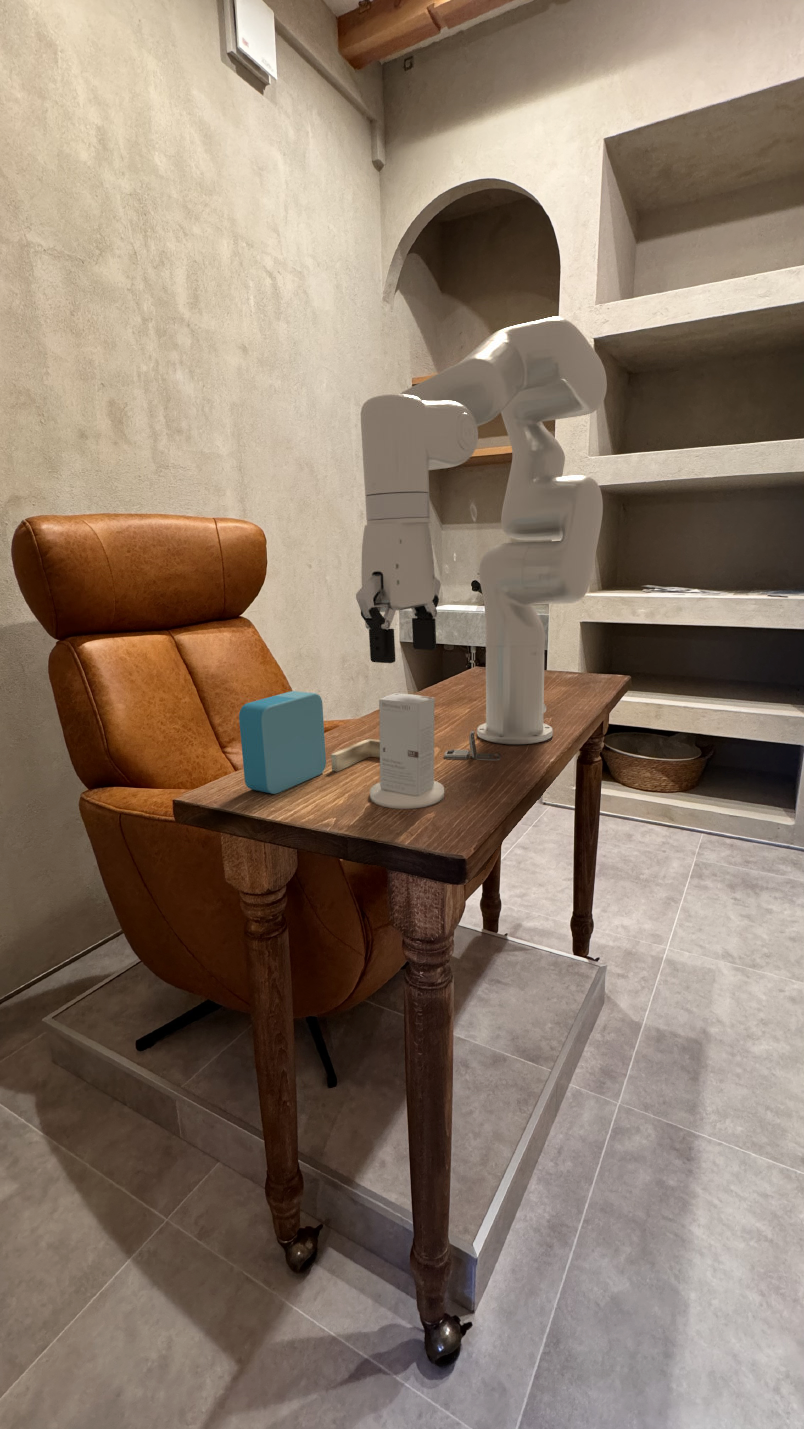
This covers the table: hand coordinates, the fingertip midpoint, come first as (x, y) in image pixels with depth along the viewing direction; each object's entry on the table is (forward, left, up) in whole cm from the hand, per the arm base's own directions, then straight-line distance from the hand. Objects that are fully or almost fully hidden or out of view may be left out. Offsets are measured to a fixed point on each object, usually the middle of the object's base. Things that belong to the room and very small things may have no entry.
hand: (404, 655), depth 83 cm
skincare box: (0, 0, -18) cm, 18 cm away
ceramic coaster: (+1, 0, -18) cm, 18 cm away
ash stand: (-7, -10, -18) cm, 22 cm away
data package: (+3, -18, -19) cm, 26 cm away
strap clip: (-18, 0, -19) cm, 26 cm away
